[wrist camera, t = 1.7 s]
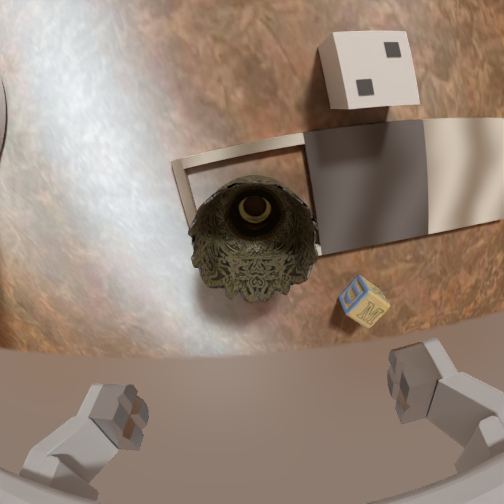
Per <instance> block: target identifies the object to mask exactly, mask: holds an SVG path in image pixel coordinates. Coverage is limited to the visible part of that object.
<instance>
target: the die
mask: <svg viewBox="0 0 504 504" xmlns="http://www.w3.org/2000/svg"><path fill="white" fill-rule="evenodd" d="M318 51H319V55H320V60H321V64H322V69H323V73H324V78H325V83H326V88H327V93H328V98H329V103H330V108H331V109H358V108H368V107H380V106H393V105H411V104H420V101H419V94H418V88H417V82H416V77H415V71H414V66H413V61H412V56H411V51H410V47H409V42H408V38H407V34H406V31H347V32H332V33H331V34H330V35H329V36H328V37H327V38H326V39H325V40H324V41H323V42H322V43H321V44H320V45H319V46H318Z"/></svg>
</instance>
